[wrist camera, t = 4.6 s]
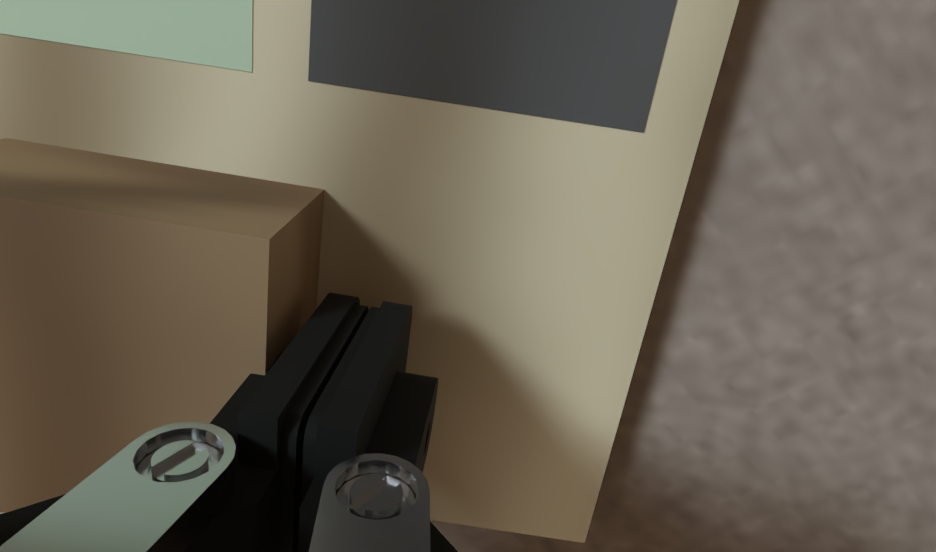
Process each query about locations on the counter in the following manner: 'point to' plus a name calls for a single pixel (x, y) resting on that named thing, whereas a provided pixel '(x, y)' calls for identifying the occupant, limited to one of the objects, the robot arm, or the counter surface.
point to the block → (135, 302)
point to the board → (447, 196)
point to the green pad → (141, 27)
